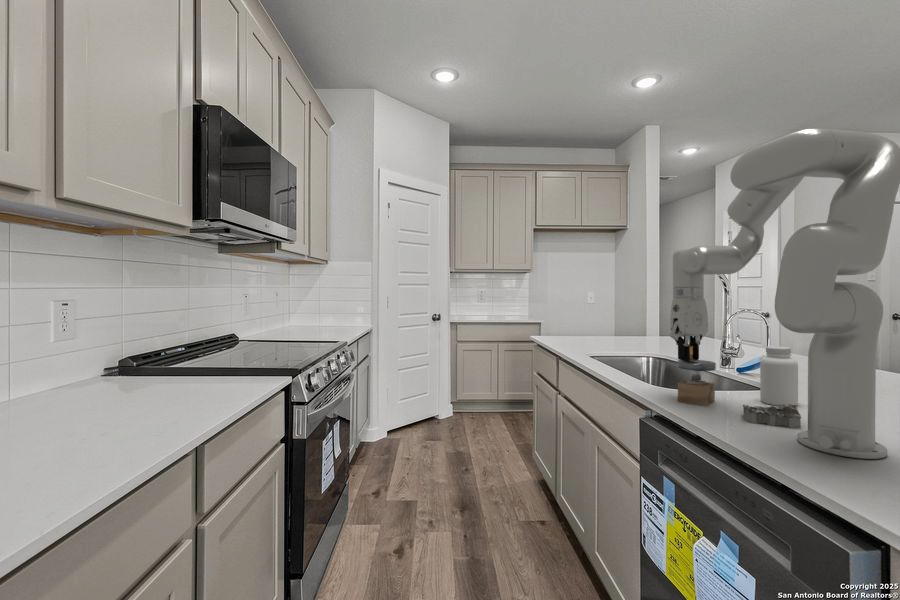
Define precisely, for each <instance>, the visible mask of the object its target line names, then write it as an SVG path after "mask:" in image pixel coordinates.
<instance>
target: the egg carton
mask: <svg viewBox="0 0 900 600" xmlns="http://www.w3.org/2000/svg"><path fill="white" fill-rule="evenodd" d="M742 408H743V413H742V414H743V415H742V416H743V417H744V418H743V420H744V421H745V422H749V421H750V423H753V424H758V423H757V422H762V423H761V424H766V423H767V424H766V425H769V426H774V425H775V426H784V425H785V427H787V426H788V428H790V427H791V429H795V428H801V424H802V423H801V419H802V416H801V414H800V412H799V409H798V407H797V405H791V404H788V405H786V404H783V405H779V406H775V405H770V406H763V405H762V406H761V405H759V406H757V405H755V406H750V405H749V404H748V405H747V404H742Z"/></svg>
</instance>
